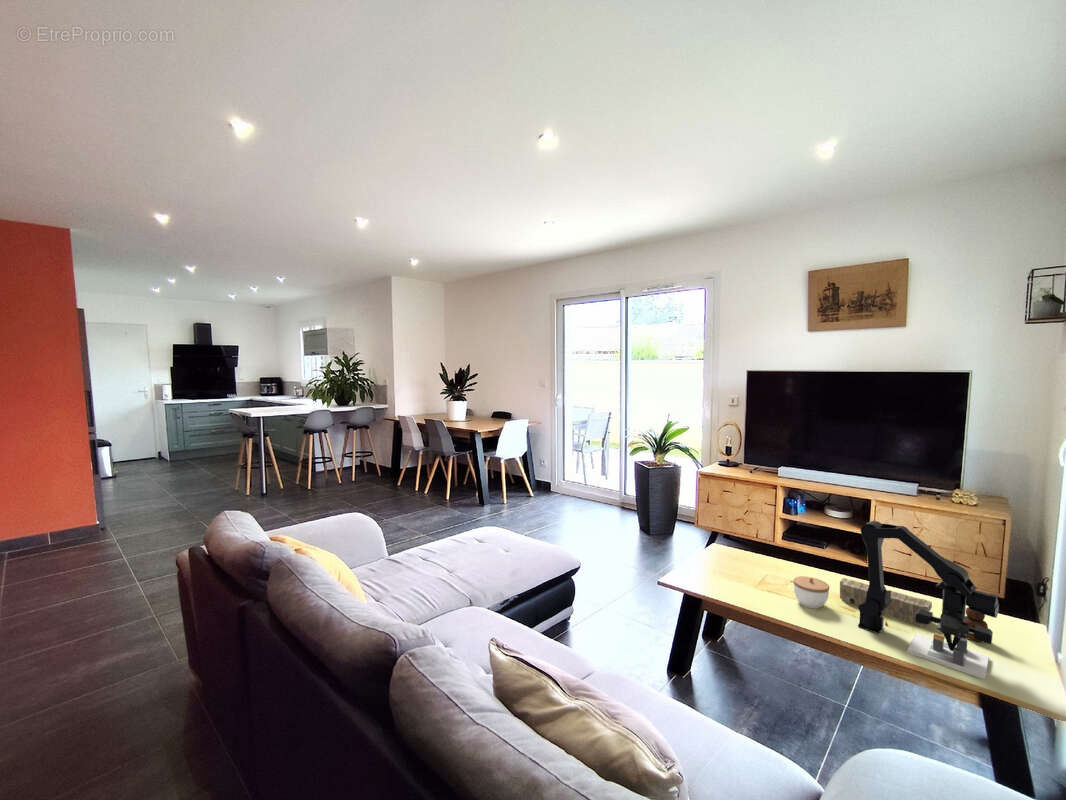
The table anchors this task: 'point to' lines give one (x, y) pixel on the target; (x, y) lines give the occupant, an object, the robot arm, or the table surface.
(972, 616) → the wooden figurine
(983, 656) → the panel
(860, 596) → the block tower
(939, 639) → the block
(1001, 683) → the table surface
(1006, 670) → the table surface
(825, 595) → the lidded bowl
